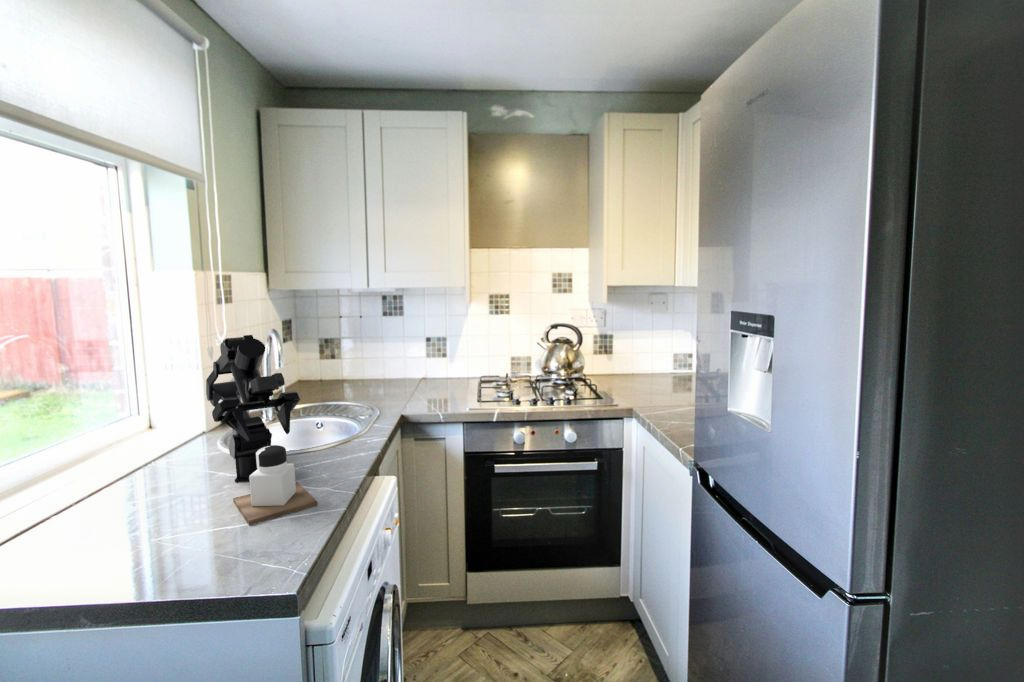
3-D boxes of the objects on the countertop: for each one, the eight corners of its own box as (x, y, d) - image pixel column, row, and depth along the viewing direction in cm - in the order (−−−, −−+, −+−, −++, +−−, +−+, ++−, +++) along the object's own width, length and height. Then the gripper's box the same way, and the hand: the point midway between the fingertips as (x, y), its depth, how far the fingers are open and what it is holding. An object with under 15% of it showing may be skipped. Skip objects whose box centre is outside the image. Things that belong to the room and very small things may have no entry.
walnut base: (233, 502, 118) (233, 498, 118) (297, 485, 126) (297, 481, 126) (249, 525, 107) (248, 520, 107) (317, 505, 116) (317, 501, 116)
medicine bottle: (296, 492, 120) (293, 442, 119) (284, 506, 113) (280, 453, 112) (265, 493, 120) (261, 443, 119) (251, 506, 113) (246, 453, 111)
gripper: (219, 364, 115) (240, 424, 110) (298, 359, 130) (320, 412, 124) (203, 391, 121) (222, 450, 115) (280, 384, 135) (301, 436, 130)
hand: (269, 436), depth 121 cm, fingers open, 9 cm apart
